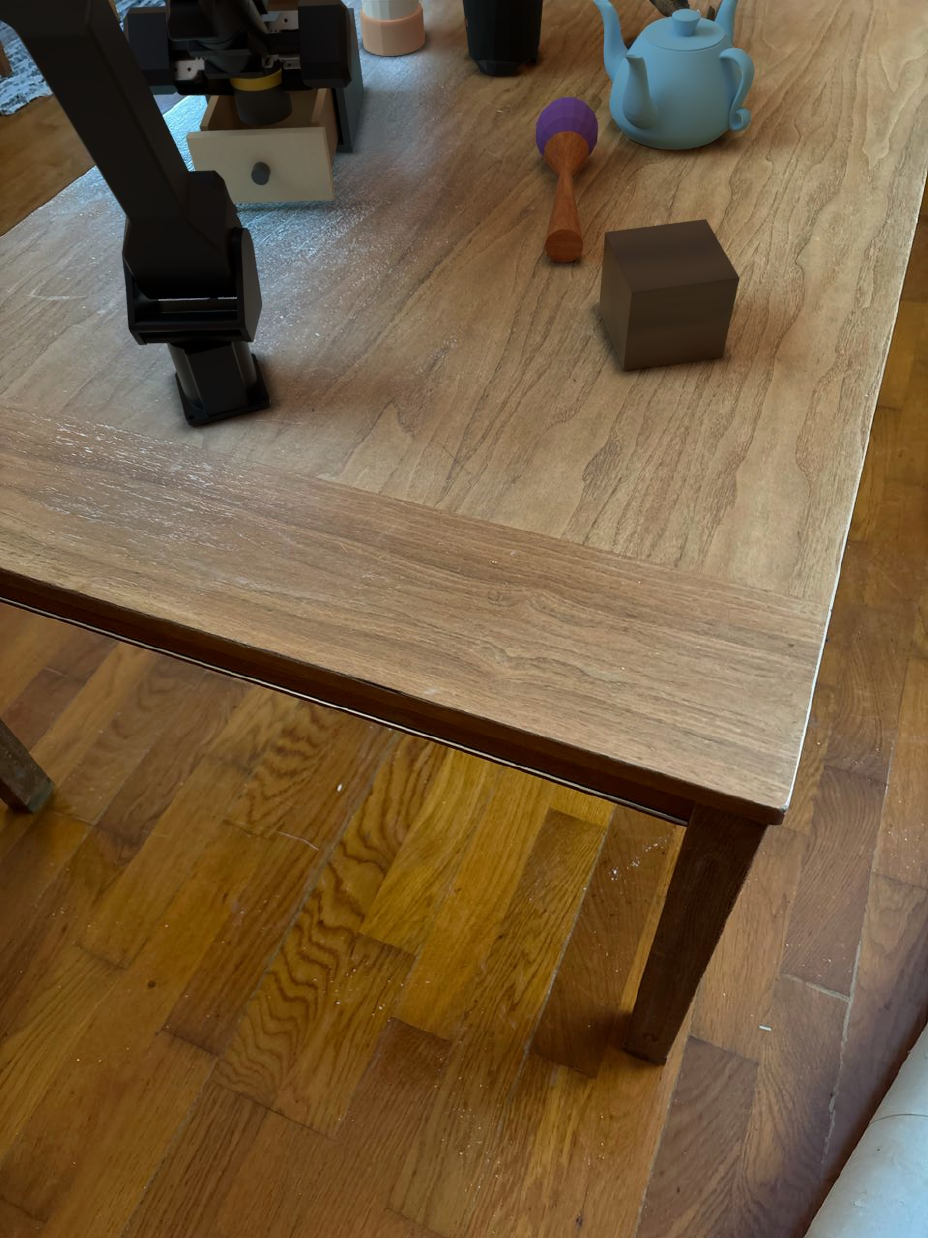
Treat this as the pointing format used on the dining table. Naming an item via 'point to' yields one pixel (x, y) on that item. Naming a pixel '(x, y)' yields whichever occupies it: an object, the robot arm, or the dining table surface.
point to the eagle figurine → (668, 3)
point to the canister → (262, 97)
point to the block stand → (666, 294)
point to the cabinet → (342, 91)
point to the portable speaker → (502, 33)
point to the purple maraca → (565, 169)
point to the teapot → (677, 78)
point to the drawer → (271, 150)
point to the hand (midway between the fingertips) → (264, 88)
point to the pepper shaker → (392, 26)
